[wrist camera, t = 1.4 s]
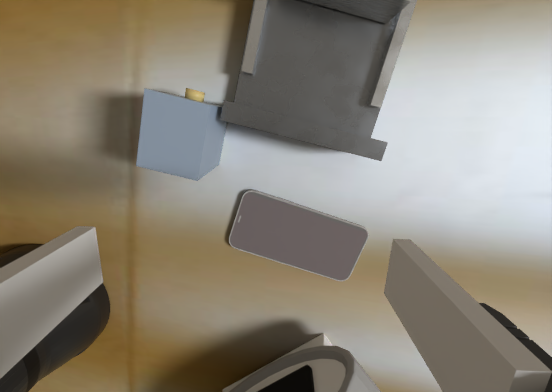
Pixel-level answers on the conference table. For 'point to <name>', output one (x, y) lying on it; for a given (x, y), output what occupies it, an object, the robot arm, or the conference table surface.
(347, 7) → the ram
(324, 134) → the press bed
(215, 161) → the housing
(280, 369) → the alarm clock
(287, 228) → the smartphone
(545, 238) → the conference table surface
